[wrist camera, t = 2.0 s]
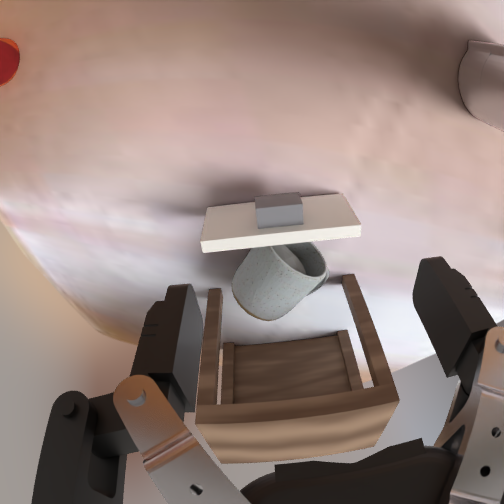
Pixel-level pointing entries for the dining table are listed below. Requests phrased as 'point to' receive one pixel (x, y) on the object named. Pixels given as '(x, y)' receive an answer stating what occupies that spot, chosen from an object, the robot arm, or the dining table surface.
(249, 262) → the ceramic mug
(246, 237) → the pull-out front
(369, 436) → the brown wooden small table
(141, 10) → the dining table surface
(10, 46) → the paper cup
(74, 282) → the dining table surface
